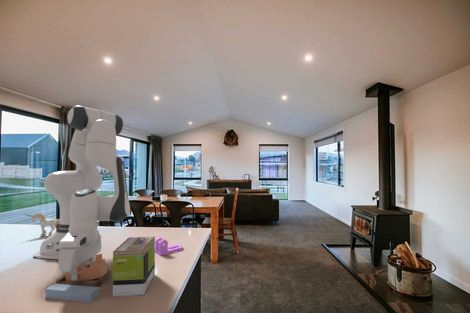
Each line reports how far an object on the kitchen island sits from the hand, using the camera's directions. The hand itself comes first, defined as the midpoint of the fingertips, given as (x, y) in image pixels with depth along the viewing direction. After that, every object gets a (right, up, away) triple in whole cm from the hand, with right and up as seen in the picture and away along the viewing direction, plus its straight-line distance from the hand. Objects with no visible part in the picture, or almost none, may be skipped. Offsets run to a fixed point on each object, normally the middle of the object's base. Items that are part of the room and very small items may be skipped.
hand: (82, 274), depth 86 cm
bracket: (+23, -4, +31) cm, 39 cm away
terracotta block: (+2, -2, 0) cm, 2 cm away
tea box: (+20, -3, -2) cm, 21 cm away
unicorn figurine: (-57, -5, +53) cm, 78 cm away
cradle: (+1, -3, 0) cm, 3 cm away
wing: (+3, -3, -10) cm, 11 cm away
